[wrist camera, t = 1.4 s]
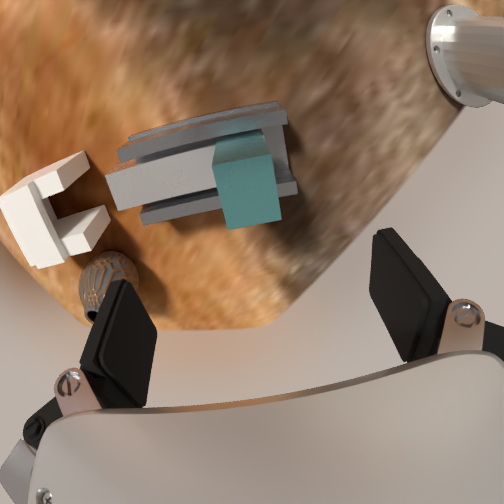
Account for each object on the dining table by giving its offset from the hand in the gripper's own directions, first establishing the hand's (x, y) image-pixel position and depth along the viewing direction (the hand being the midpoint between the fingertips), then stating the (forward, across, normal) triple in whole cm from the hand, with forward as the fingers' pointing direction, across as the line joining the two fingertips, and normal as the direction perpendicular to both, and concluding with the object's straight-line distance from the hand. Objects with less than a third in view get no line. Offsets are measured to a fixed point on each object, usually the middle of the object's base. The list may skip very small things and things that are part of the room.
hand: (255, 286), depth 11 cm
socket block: (+20, +20, 0) cm, 28 cm away
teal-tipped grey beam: (+18, +5, 0) cm, 19 cm away
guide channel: (+20, +3, 0) cm, 20 cm away
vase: (+20, +17, +10) cm, 28 cm away
